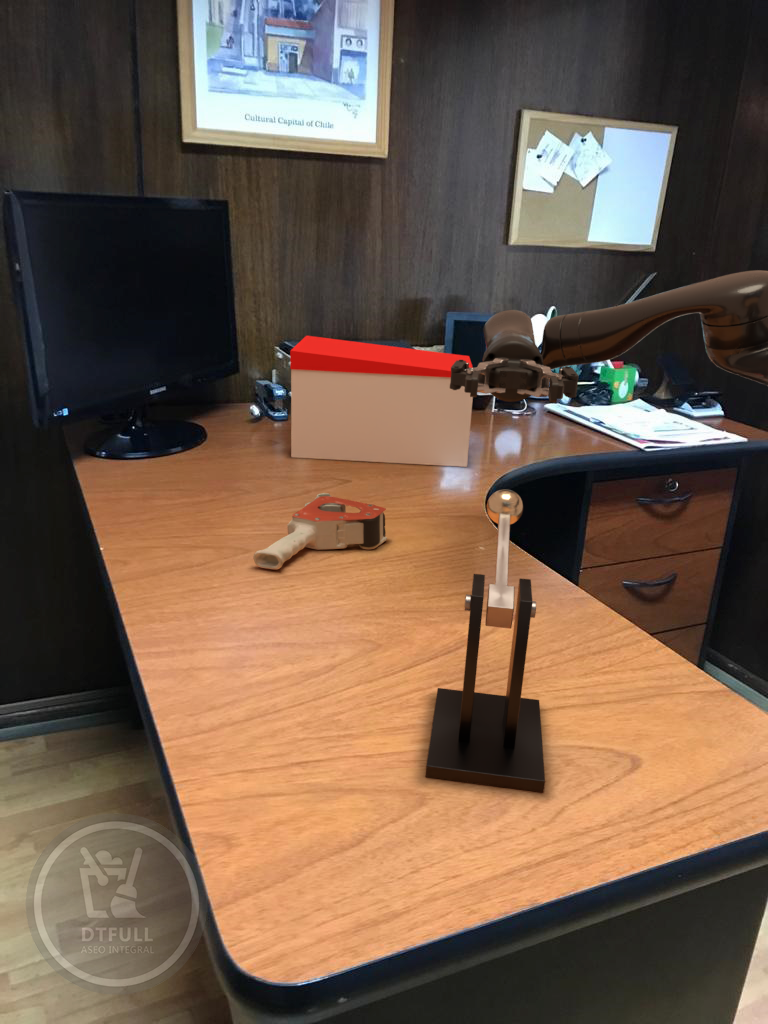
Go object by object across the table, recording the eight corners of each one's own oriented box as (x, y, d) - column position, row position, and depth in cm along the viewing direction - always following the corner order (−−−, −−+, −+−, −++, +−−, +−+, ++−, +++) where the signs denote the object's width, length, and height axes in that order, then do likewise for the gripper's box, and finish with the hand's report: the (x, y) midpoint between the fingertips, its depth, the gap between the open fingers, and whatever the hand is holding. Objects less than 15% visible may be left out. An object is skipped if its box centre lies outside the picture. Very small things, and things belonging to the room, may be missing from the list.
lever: (486, 509, 80) (489, 480, 78) (521, 512, 79) (525, 483, 77) (476, 630, 67) (479, 600, 64) (518, 634, 66) (523, 604, 64)
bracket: (436, 697, 77) (448, 553, 72) (537, 710, 76) (557, 564, 71) (425, 777, 66) (437, 613, 61) (543, 792, 65) (567, 627, 59)
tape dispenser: (256, 584, 103) (401, 565, 107) (253, 549, 100) (401, 531, 105) (245, 529, 118) (372, 514, 123) (242, 497, 116) (371, 483, 120)
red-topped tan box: (304, 430, 172) (305, 335, 164) (462, 439, 170) (470, 343, 163) (289, 457, 152) (289, 350, 145) (467, 467, 151) (475, 360, 144)
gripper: (565, 399, 98) (577, 429, 83) (453, 391, 100) (444, 419, 85) (573, 339, 96) (586, 359, 81) (458, 332, 97) (449, 350, 82)
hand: (513, 390), depth 83 cm, fingers open, 8 cm apart
